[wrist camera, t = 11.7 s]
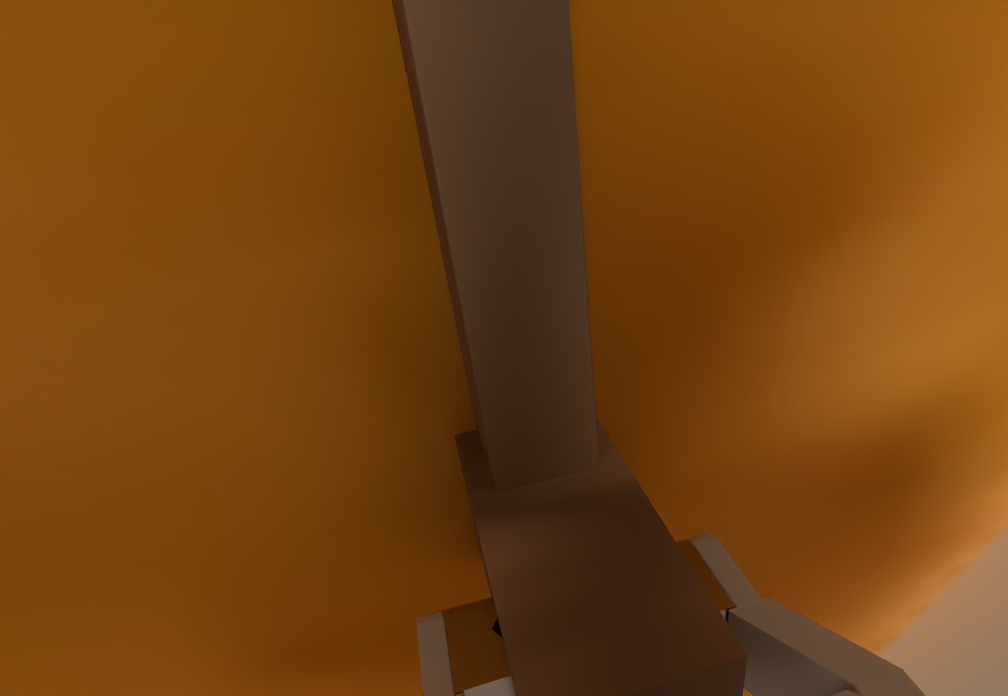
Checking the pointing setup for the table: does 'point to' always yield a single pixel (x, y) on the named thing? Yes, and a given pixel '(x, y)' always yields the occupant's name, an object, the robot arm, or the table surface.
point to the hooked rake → (544, 371)
